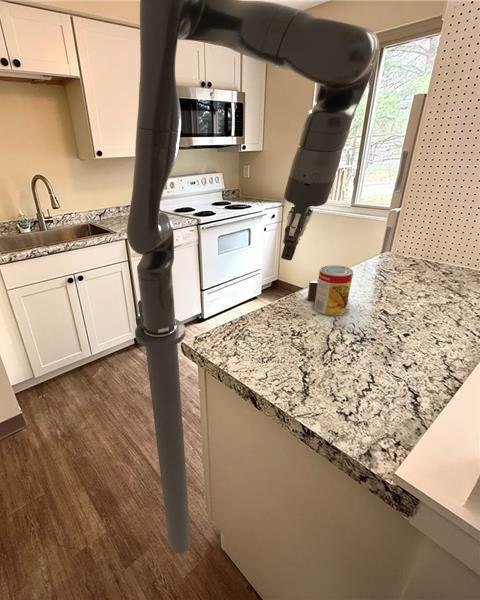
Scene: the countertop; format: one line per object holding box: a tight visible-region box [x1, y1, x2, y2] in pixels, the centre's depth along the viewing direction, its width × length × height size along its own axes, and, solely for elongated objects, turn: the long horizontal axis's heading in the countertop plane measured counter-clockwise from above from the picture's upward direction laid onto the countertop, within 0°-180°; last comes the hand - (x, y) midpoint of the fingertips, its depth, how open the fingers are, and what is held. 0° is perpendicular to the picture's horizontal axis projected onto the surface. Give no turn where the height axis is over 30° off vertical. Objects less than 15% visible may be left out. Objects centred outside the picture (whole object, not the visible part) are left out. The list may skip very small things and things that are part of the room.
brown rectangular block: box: [306, 279, 318, 302], centre depth 93 cm, size 10×2×6 cm, turn 68°
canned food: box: [313, 264, 354, 317], centre depth 87 cm, size 8×8×12 cm
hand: (286, 258), depth 66 cm, fingers closed
